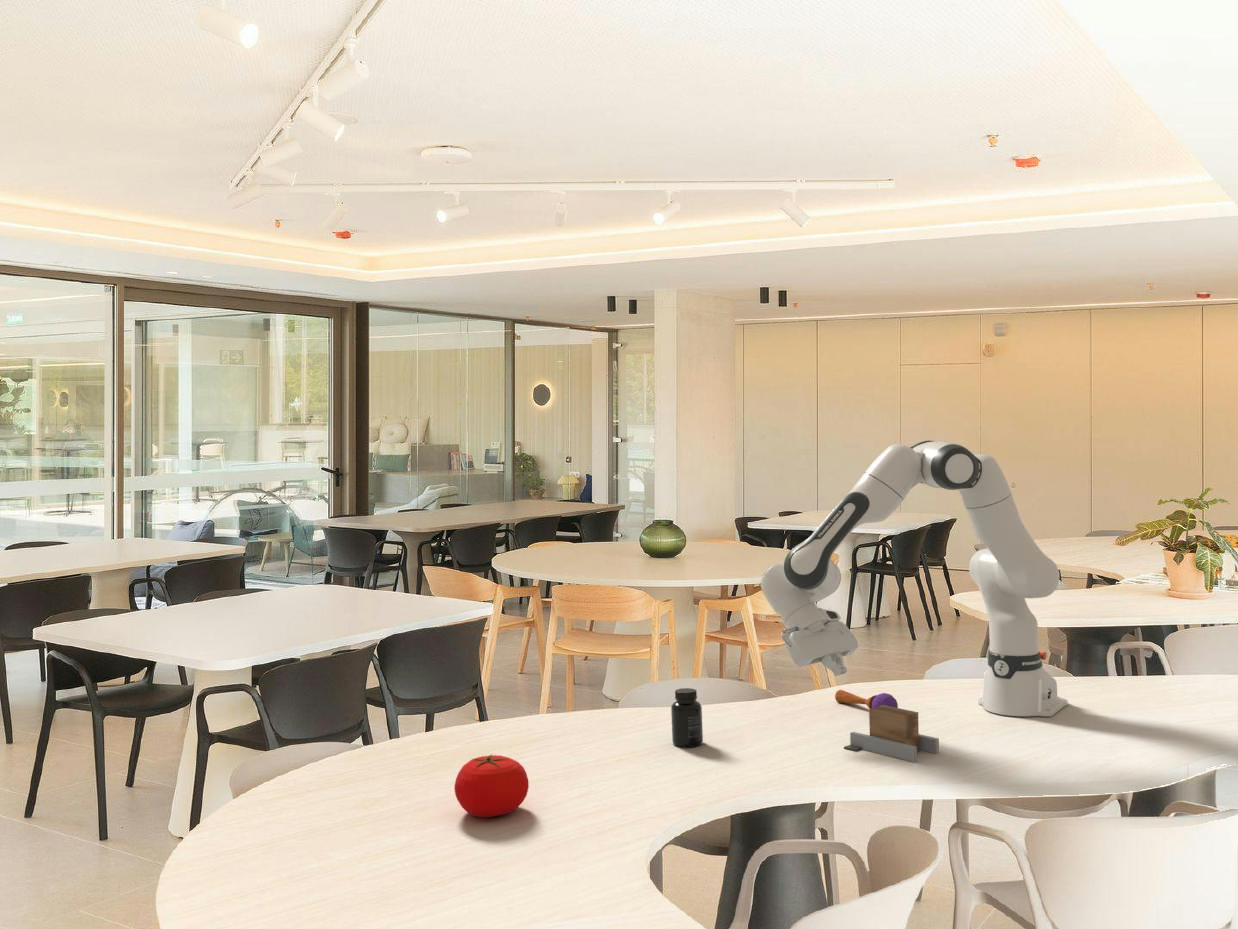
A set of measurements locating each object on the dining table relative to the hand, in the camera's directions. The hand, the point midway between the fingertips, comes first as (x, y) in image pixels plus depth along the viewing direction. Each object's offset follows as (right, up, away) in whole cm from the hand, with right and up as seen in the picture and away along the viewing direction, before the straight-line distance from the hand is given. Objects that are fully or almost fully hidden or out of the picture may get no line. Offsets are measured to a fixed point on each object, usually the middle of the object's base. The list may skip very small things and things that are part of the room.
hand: (841, 673), depth 245 cm
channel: (+9, -14, -11) cm, 20 cm away
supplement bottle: (-35, -15, -3) cm, 38 cm away
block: (+9, -14, -11) cm, 20 cm away
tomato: (-74, -18, -44) cm, 88 cm away
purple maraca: (+10, -14, +21) cm, 27 cm away
